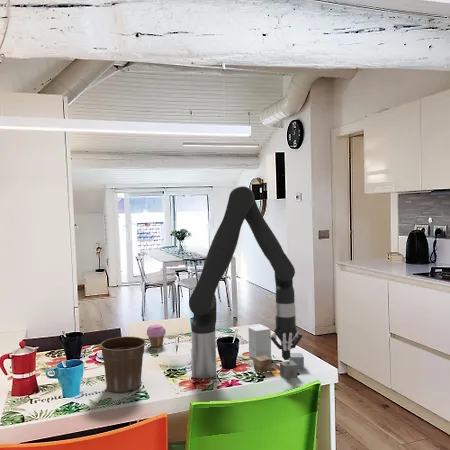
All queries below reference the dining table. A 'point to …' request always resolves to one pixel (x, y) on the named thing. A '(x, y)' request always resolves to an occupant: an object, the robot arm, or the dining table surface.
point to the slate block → (297, 359)
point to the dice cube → (288, 369)
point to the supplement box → (259, 341)
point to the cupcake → (156, 334)
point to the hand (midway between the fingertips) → (286, 359)
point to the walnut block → (262, 363)
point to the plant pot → (123, 363)
